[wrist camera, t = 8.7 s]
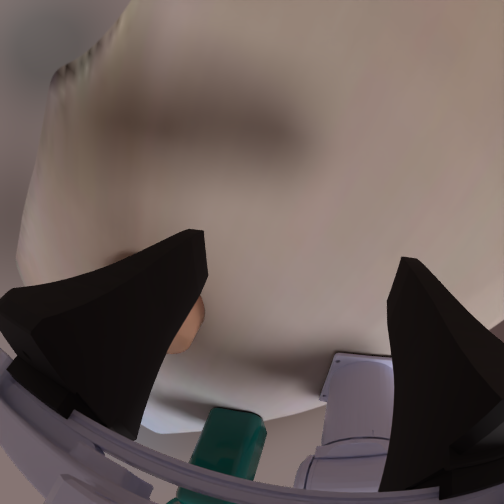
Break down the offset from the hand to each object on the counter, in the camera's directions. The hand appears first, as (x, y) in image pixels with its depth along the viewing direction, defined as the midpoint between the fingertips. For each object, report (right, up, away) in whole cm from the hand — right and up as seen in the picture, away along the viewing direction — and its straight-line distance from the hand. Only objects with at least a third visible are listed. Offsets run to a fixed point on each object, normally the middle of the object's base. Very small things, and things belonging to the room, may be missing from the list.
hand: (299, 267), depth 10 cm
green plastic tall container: (-4, -26, +30) cm, 40 cm away
